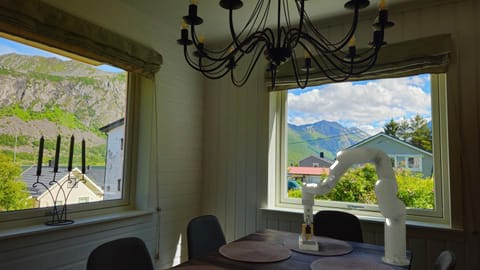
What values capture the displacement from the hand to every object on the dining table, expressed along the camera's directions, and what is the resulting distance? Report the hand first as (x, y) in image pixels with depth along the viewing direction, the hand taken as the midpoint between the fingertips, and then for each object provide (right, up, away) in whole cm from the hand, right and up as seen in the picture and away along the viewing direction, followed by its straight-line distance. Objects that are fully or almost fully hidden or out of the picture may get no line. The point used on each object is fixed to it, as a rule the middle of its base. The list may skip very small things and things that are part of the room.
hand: (307, 232), depth 188 cm
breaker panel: (-1, -7, -4) cm, 8 cm away
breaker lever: (0, -4, 0) cm, 4 cm away
